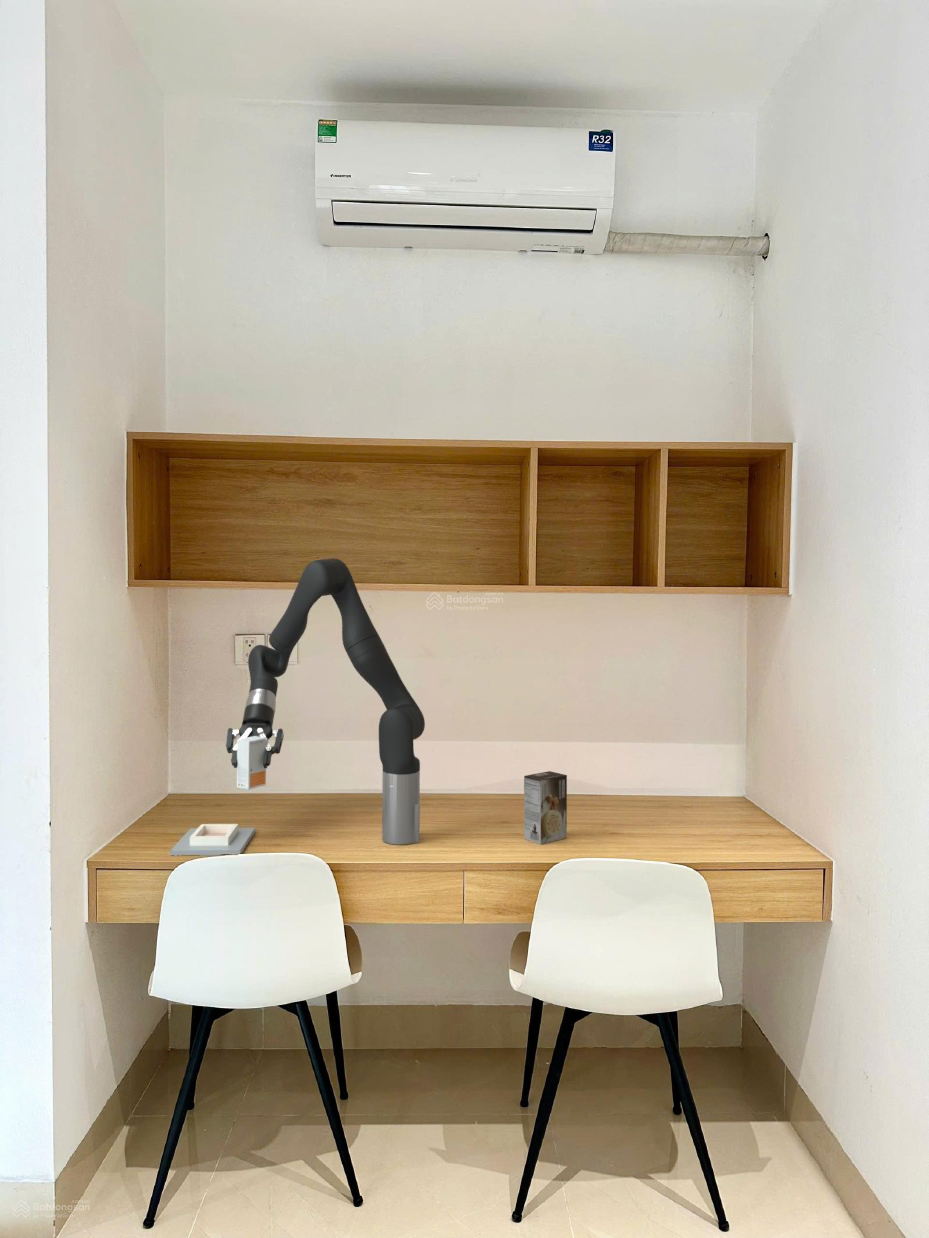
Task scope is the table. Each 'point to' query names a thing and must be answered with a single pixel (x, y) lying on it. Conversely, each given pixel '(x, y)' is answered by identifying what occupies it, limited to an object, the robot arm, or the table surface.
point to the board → (213, 840)
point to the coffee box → (545, 807)
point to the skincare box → (251, 762)
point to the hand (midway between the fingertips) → (250, 766)
